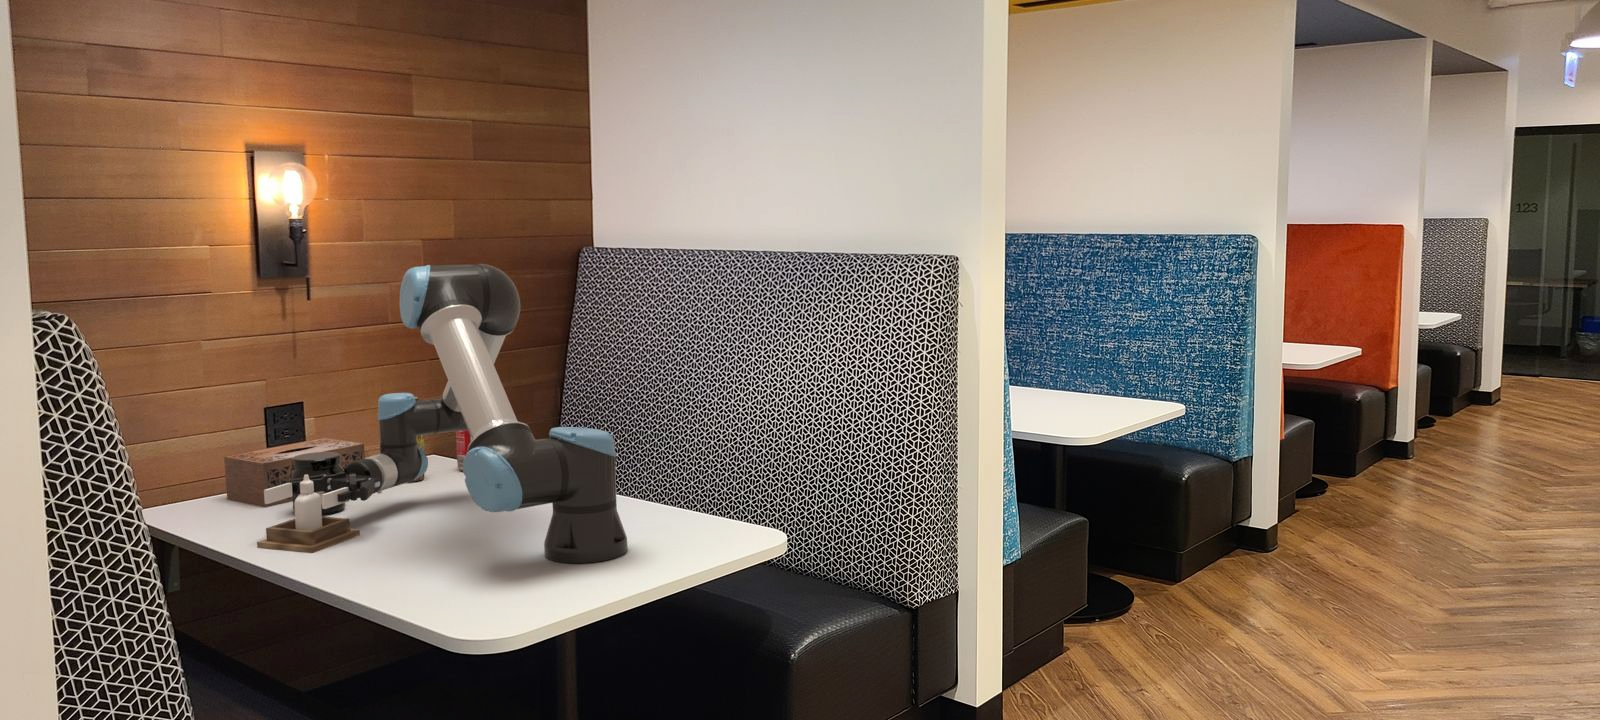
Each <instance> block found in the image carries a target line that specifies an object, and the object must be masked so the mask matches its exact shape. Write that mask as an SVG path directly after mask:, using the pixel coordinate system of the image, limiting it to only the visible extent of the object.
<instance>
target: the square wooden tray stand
mask: <svg viewBox="0 0 1600 720" xmlns="http://www.w3.org/2000/svg"><path fill="white" fill-rule="evenodd" d="M265 535H266V539H262V540H260V541H257V542H256V548H260V549H261V548H262V549H270V550H271V549H272V550H280V551H281V550H282V551H289V552H299V553H300V552H301V553H309V554H313V553H317V552H319V551H321V550H325V549H326V548H329V547H332V546H335V545H338V544H341V543H342V542H345V541H348V540H350V539H353V538H357V537H358V536H360V535H361V532H360V529H351V518H345V517H336V516H335V517H334V516H325V515H322V527H320V528H317V529H314V530H311V531H308V530H297V529H296V525H295V518H293V519H289V520H287V521H284V522H281V523H277V524H274V525H272V526H268V527H266V528H265Z"/></svg>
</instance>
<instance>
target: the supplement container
mask: <svg viewBox="0 0 1600 720" xmlns="http://www.w3.org/2000/svg"><path fill="white" fill-rule="evenodd" d="M340 463H341V458H340V454H339V453H335V452H314V453H306V454H301V455H297V456H295V457H293V458H292V467H293V468H294V470H293V471H292V472H291V474H290V477H291V479H297V478H304V475H308V476H309V477H310V476H316V475H321V474H325V473H329V475H333V474H336V473H340V472H343V471H344V470H343V468H342V467H341V466H340V465H339V464H340ZM328 489H331V487H330V485H329V486H328ZM314 493H317V494H319V495H320V498H321V511H322V516H328V515H332V514H337V513H339V512H340V511H342V510H343V509H344V508H345V507H346V502H345V503H342V504H339V505H336V506H333V507H330V508H327V509H322V496H321V495H322V494H325V492H324V491H320V492H314ZM299 495H300V494H295V495H293V496H292V498H293V501H292V510H293V513H295V505H294V503H295V500H296V498H297V497H298V496H299Z"/></svg>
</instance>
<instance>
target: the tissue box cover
mask: <svg viewBox="0 0 1600 720" xmlns="http://www.w3.org/2000/svg"><path fill="white" fill-rule="evenodd" d="M365 451H366V450H365V443H362V442H355V441H350V440H341V439H335V438H327V437H323V438H318V439H314V440H313V439H312V440H308V441H304V442H303V441H302V442H298V443H297V442H296V443H292V444H286V445H280V446H276V447H270V448H265V449H264V448H263V449H259V450H254V451H249V452H244V453H239V454H232V455H227V456H224V457H223V459H224V473H225V476H224V477H225V487H226V488H225V489H226V500H228V501H232V502H236V503H242V504H246V505H247V504H248V505H251V506H257V507H262V508H270V507H274V506H278V505H282V504H287V503H293V498H292V497H290V499H287V498H286V499H283V500H279V501H276V502H273V503H270V504H265V500H264V490H266V489H269V488H272V487H276V486H279V485H281V481H283V480H291V477H290V474H291V472H292V471H293V470H294V468H293V467H292V458H293V457H295V456H297V455H301V454H306V453H314V452H335V453H339V454H340V458H341V463H340V464H339V465H340V466H341V467H342V468H343V470H344V469H345V468H346V466H347V465H348V464H350V463H351V462H354V461H358V460H361V459H365V458H366V454H365Z"/></svg>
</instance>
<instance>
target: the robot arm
mask: <svg viewBox="0 0 1600 720" xmlns="http://www.w3.org/2000/svg"><path fill="white" fill-rule="evenodd" d="M519 294H520V293H519V291H518V289H517V287H516V285H515V283H514V282H513V280H512V279H511V277H509V276H508V275H507V273H505V272H504V271H503V270H501V269H499V268H497V267H495V266H494V265H491V264H490V265H489V264H487V263H474V264H446V265H445V264H443V265H430V264H427V265H424V266H423V265H422V266H414V267H411V268H409V269H408V270H406V272H405V273H404V276H403V277H402V281H401V286H400V290H399V314H400V318H401V321H402V323H403V326H405V328H409V329H412V330H414V329H416V328H417V329H418V330H419V332H420V334H421V335H420V336H421V338H422V339H423V341H425V342H426V343H427V344H429V345H432V346H434V348H435V350H436V353H437V356H438V358H439V360H440V363H441V365H442V368H443V371H444V373H445V376H446V378H447V380H448V381H447V382H446V385H445V388H444V391H443V393H442V396H441V398H433V399H421V400H419V399H418V401H415V397H416V396H415V395H414V394H413V393H411V392H395V393H394V392H393V393H387V394H383V395H381V396H380V397H379V399H378V401H377V402H378V403H377V404H378V405H377V419H378V434H379V435H378V436H379V449H380V450H379V451H380V452H379V453H378V454H374V455H371V456H368V457H365V459H361V460H358V461H354V462H351V463H350V464H348V465H347V466H346V468H345V469H344V471H343V472H340V473H336V474H333V475H329V473H325V474H321V475H316V476H310V477H309V480H311V481H313V484H314V492H320V491H324V492H325V494H322V495H321V496H322V509H327V508H330V507H333V506H336V505H339V504H342V503H345V504H346V503H347V502H350V501H353V502H354V501H355V502H356V501H358V499H360V501H362V502H363V501H364V502H365V501H367V500H368V499H369V498H371V496H372V495H374V494H376V493H377V494H382V492H383V491H385V490H388V489H391V488H394V487H398V486H401V485H403V484H409V483H412V482H411V481H413V480H415V479H417V478H419V477H421V476H422V475H423V474H424V475H425V473H426V472H427V469H428V467H429V459H428V456H427V455H426V452H425V449H424V450H423V449H421V448H420V447H418V446H417V436H420V435H424V436H426V435H435V434H442V433H451V432H456V431H465V430H467V429H468V431H469V433H470V436H471V438H472V441H471V442H470V444H469V446H468V452H467V454H466V456H465V458H464V462H463V471H462V472H463V475H464V477H465V478H464V482H465V487H466V489H467V491H468V493H469V495H470V497H471V499H472V500H473V501H474V503H475V504H476V506H478V507H479V508H480V509H482V510H484V511H486V512H489V513H499V512H514V511H515V510H520V509H526V508H530V507H536V506H543V505H549V504H552V515H551V517H550V522H549V525H548V529H547V532H546V535H545V540H544V543H543V545H544V546H543V547H544V556H545V558H547V559H549V560H551V561H554V562H560V563H568V564H587V563H597V562H604V561H608V560H612V559H615V558H618V557H620V556H623V555H624V554H626V553H627V551H628V537H627V534H626V531H625V528H624V526H623V524H622V521H621V517H620V514H619V512H618V508H617V482H616V481H617V475H616V474H617V473H616V458H617V454H616V446H615V440H614V437H613V435H612V434H611V433H610V432H608V431H605V430H602V429H596V428H589V427H578V426H577V427H573V426H558V427H557V426H556V427H552V428H551V429H550V430H549V433H548V436H549V437H548V438H540V439H535V437H534V434H533V432H532V429H531V428H530V426H529V425H528V424H526V423H524V422H520V421H518V419H517V416H516V415H515V412H514V410H513V407H512V405H511V403H510V400H509V397H508V395H507V392H506V390H505V388H504V386H503V384H502V382H501V379H500V376H499V374H498V372H497V370H496V367H495V363H496V360H497V358H498V356H499V353H500V350H501V349H502V346H503V344H504V341H505V339H506V336H507V335H510V334H512V333H513V331H514V330H515V328H516V326H517V323H518V320H519V317H520V313H521V298H520V295H519ZM303 480H304V478H297V479H291V480H283V481H281V485H279V486H276V487H272V488H269V489H266V490H264V500H265V504H270V503H273V502H276V501H279V500H283V499H286V498H287V499H290V497H292V496H293V495H295V494H301V493H300V482H302V481H303ZM329 485H330V487H331V489H328V486H329Z"/></svg>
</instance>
